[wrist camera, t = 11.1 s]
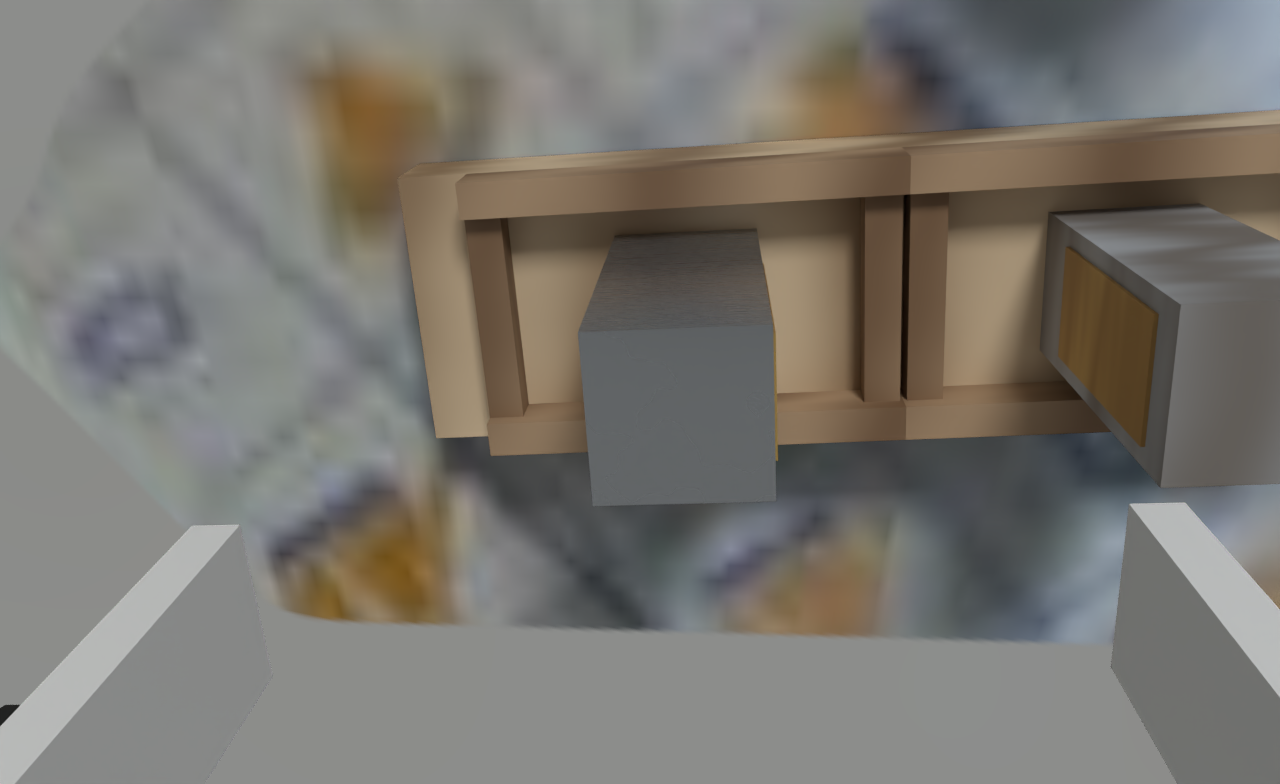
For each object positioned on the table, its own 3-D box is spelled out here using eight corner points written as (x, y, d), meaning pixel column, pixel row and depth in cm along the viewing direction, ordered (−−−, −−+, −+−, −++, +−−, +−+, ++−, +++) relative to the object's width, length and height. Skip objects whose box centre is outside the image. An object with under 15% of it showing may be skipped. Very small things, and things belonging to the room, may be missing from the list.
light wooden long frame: (1391, 103, 30) (1762, 172, 20) (1346, 369, 33) (1647, 557, 22) (419, 163, 33) (277, 254, 22) (454, 408, 36) (343, 593, 25)
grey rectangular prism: (760, 228, 30) (777, 324, 22) (763, 362, 32) (780, 501, 23) (614, 235, 31) (577, 332, 22) (624, 367, 32) (592, 506, 24)
